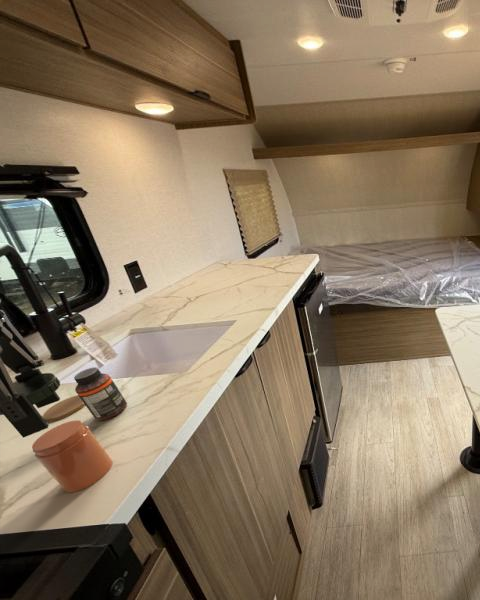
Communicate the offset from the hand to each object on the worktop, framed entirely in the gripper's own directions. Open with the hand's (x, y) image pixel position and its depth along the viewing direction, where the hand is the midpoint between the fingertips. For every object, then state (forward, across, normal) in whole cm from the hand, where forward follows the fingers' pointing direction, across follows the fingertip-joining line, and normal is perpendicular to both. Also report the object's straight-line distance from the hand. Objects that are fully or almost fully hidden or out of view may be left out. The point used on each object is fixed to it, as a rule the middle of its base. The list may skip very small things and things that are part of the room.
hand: (43, 416), depth 52 cm
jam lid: (-5, 0, 0) cm, 5 cm away
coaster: (+14, +30, +7) cm, 34 cm away
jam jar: (+14, 0, 0) cm, 14 cm away
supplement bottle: (+14, +19, -2) cm, 24 cm away
